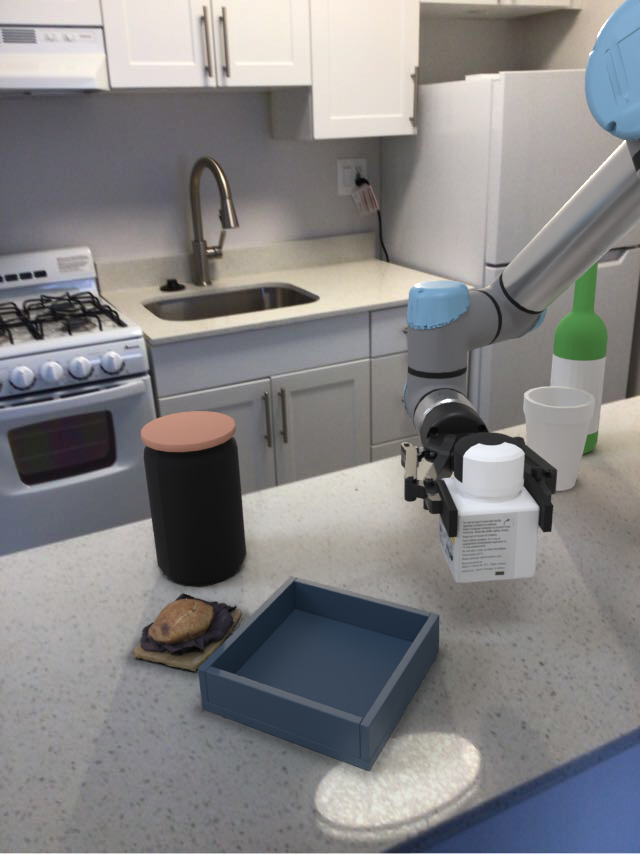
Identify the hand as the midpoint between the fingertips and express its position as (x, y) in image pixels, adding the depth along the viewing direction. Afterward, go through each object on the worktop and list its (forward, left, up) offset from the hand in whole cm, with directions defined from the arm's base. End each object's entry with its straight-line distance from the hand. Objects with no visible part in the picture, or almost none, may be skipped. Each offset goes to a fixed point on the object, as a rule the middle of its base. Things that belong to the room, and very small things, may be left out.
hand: (500, 521), depth 68 cm
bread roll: (+29, +10, -15) cm, 34 cm away
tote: (+13, +10, -15) cm, 22 cm away
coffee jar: (+36, -2, -15) cm, 39 cm away
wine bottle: (+3, -56, -15) cm, 58 cm away
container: (+2, -4, -7) cm, 9 cm away
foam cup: (+3, -42, -15) cm, 45 cm away
